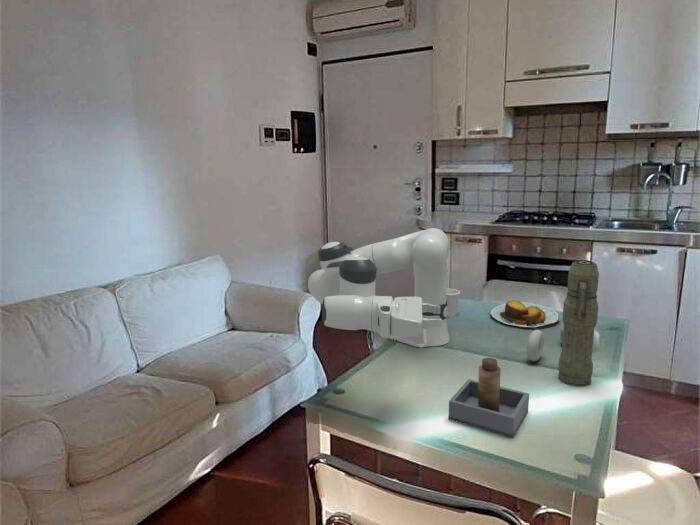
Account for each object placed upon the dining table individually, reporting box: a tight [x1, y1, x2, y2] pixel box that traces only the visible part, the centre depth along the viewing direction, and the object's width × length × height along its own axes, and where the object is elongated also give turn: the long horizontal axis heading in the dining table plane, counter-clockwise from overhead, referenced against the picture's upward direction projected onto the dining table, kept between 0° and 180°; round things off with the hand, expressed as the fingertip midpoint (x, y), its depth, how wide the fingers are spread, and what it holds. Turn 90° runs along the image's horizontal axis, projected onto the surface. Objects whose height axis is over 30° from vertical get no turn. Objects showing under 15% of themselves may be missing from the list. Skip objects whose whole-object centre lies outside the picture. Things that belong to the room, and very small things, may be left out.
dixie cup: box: [446, 288, 461, 318], centre depth 200 cm, size 8×8×10 cm
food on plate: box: [489, 300, 560, 328], centre depth 194 cm, size 25×25×7 cm
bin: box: [448, 378, 530, 439], centre depth 125 cm, size 16×14×5 cm
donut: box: [526, 329, 545, 362], centre depth 156 cm, size 10×4×10 cm, turn 145°
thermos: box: [557, 259, 600, 387], centre depth 140 cm, size 9×12×35 cm
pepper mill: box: [478, 357, 501, 412], centre depth 124 cm, size 5×5×14 cm
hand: (441, 315), depth 122 cm, fingers open, 8 cm apart
